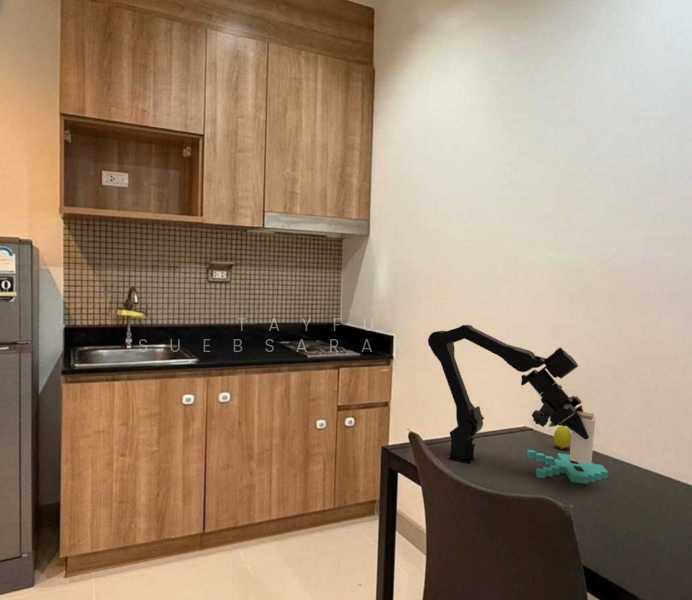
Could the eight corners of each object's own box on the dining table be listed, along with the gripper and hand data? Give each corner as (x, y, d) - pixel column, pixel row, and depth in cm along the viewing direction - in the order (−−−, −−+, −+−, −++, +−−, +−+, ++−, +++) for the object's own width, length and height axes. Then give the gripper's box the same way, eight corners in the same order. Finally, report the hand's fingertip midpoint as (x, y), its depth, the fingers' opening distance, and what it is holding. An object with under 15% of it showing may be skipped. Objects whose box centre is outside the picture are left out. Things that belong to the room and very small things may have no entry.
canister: (569, 460, 141) (573, 413, 140) (571, 455, 145) (575, 410, 145) (589, 464, 138) (593, 417, 138) (591, 459, 143) (595, 413, 142)
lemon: (546, 446, 177) (549, 416, 176) (559, 445, 179) (562, 415, 179) (562, 452, 171) (565, 422, 170) (575, 451, 173) (578, 421, 173)
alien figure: (536, 478, 146) (614, 488, 142) (537, 470, 146) (615, 480, 142) (526, 456, 166) (595, 464, 162) (527, 449, 166) (595, 457, 162)
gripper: (531, 400, 157) (568, 445, 152) (517, 411, 141) (558, 461, 136) (561, 378, 153) (600, 423, 148) (551, 386, 137) (594, 437, 132)
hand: (588, 436), depth 141 cm, fingers closed on canister, 5 cm apart
